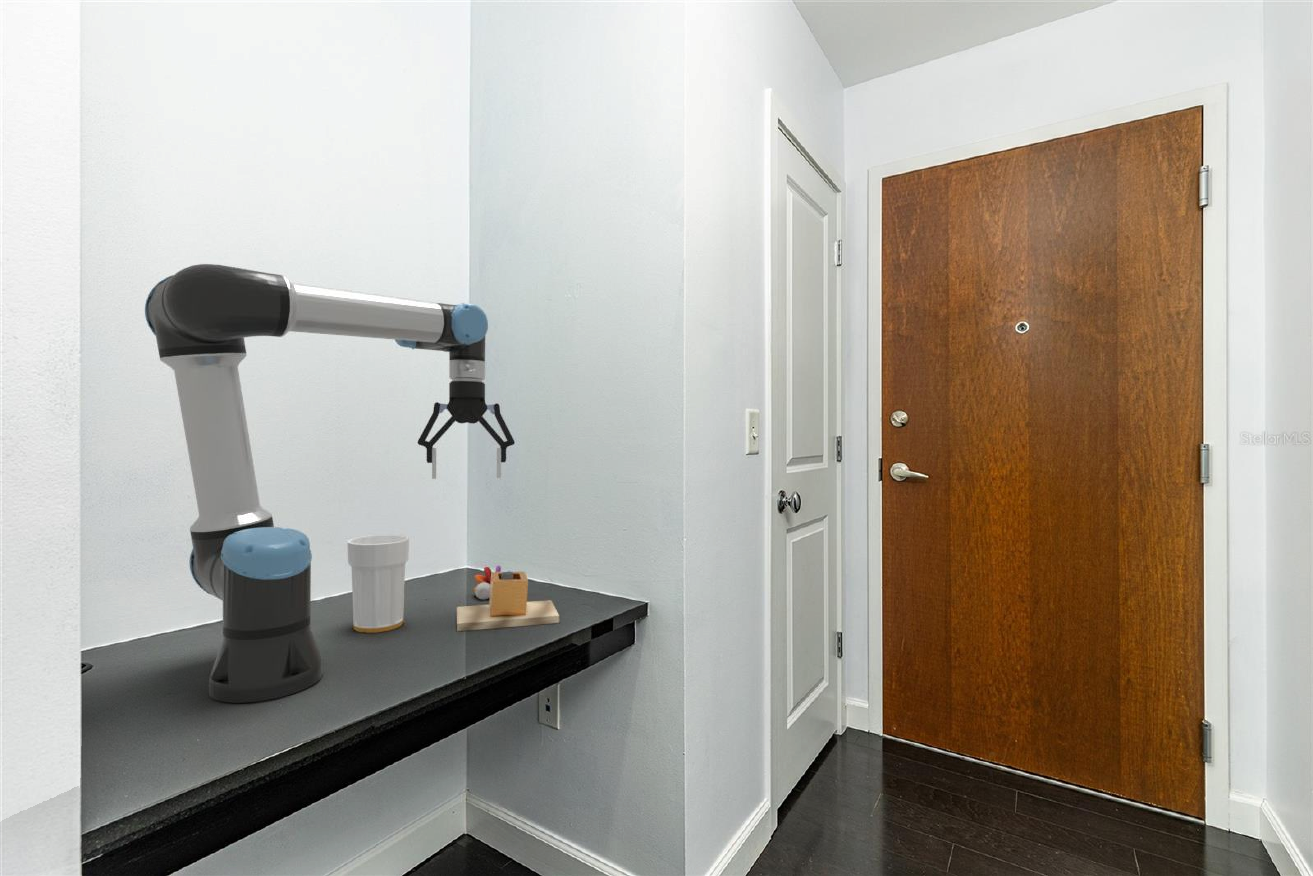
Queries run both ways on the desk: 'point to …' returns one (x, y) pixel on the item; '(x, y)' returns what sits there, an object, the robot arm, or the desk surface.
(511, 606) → the wooden pen holder
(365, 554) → the cup
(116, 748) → the desk surface
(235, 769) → the desk surface
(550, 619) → the keeper
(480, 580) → the colorful toy
